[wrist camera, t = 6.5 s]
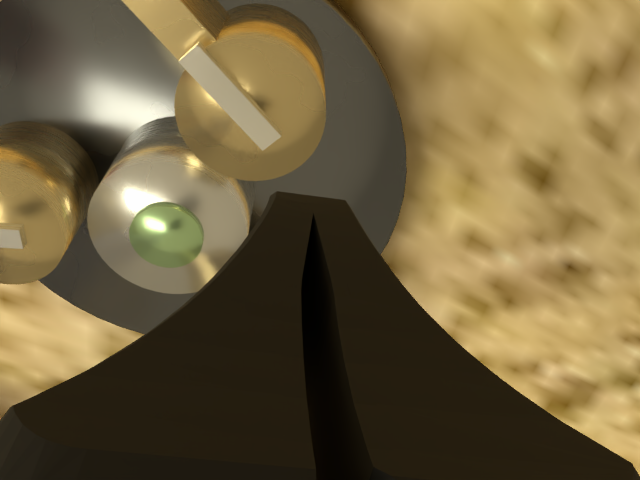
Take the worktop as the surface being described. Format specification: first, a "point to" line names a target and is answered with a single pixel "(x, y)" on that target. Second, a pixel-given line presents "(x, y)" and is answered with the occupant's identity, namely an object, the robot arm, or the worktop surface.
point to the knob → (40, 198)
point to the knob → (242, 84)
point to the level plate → (142, 80)
